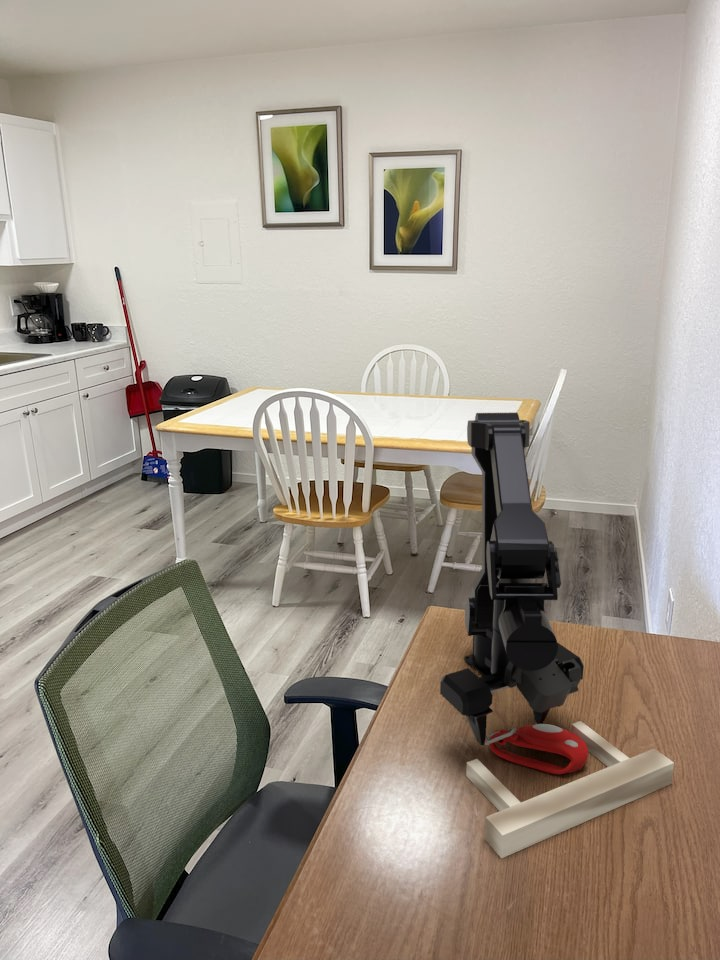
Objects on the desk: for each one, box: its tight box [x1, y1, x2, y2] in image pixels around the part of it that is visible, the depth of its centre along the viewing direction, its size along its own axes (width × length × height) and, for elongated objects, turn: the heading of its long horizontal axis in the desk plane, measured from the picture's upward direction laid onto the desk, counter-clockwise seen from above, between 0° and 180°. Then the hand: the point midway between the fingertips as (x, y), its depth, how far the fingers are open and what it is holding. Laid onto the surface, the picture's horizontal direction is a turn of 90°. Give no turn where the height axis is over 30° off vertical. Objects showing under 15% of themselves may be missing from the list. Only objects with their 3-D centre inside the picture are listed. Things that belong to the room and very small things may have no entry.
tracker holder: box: [484, 722, 589, 775], centre depth 93 cm, size 12×4×10 cm
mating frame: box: [465, 720, 675, 859], centre depth 88 cm, size 12×25×3 cm, turn 116°
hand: (510, 733), depth 97 cm, fingers open, 9 cm apart
